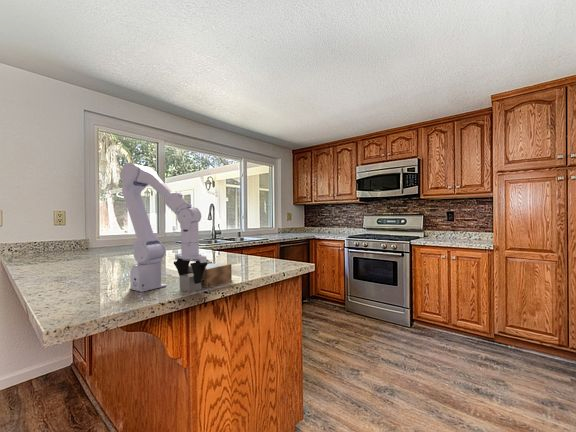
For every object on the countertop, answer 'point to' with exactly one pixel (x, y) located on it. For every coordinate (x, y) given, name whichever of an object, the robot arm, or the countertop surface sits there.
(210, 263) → the trapdoor
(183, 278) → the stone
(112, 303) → the countertop surface
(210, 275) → the frame
